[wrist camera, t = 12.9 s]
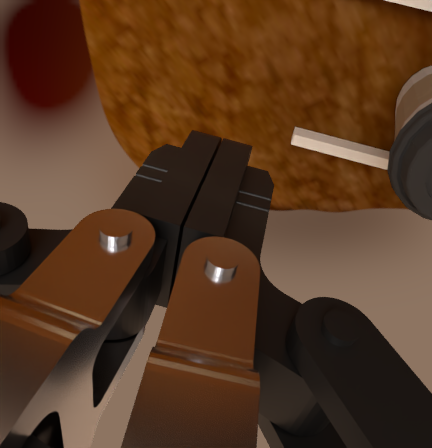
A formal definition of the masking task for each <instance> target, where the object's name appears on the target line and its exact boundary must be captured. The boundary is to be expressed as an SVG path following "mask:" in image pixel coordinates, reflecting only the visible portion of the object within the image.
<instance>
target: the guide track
mask: <svg viewBox="0 0 432 448" xmlns="http://www.w3.org/2000/svg"><path fill="white" fill-rule="evenodd" d="M385 1H389V2H393V3H398V4H402V5H406V6H410V7H414V8H418V9H422V10H426V11H430V12H432V0H385ZM291 144H292V145H295V146H299V147H303V148H307V149H310V150H314V151H318V152H322V153H325V154H329V155H333V156H337V157H340V158H344V159H348V160H352V161H355V162H359V163H363V164H367V165H370V166H374V167H378V168H382V169H385V170H387V169H388V161H389V153H390V152H389V151H385V150H382V149H378V148H374V147H370V146H366V145H363V144H359V143H355V142H351V141H347V140H344V139H340V138H336V137H332V136H329V135H325V134H321V133H317V132H313V131H310V130H306V129H302V128H298V127H295V129H294V132H293V135H292V140H291Z"/></svg>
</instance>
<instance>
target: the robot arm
mask: <svg viewBox="0 0 432 448" xmlns="http://www.w3.org/2000/svg"><path fill="white" fill-rule="evenodd" d="M221 141H222V143H221ZM251 150H252V146H250V145H247V144H243V143H239V142H236V141H232V140H228V139H223V140H222V138H220V137H216V136H213V135H209V134H205V133H202V132H198V131H194V130H192V131H191V133H190V135H189V136H188V138H187V140H186V141H185V143H184V145H183V146H182V148H180V147H176V146H172V145H168V144H166V145H164V146H162V147H160V148H158V149H156V150H154V151H152V152H151V153H150V154H149V156H148V157H147V159H146V160H145V162H144V163H143V166H141V167H140V169H139V170H138V171H137V173H136V176H134V177H133V178H132V180H131V181H130V183H129V184H128V185H127V187H126V188H125V190H124V191H123V193H122V194H121V196H120V197H119V198H118V200H117V201H116V202H115V204H114V205H113V207H112V208H111V209H105V210H100V211H97V212H94V213H92V214H89V215H88V216H86V217H85V218H83V220H81V221H80V222H79V224H77V226H76V227H75V228H74V229H72V230H47V229H28V223H27V218H26V216H25V215H24V213H23V212H22V211H21V210H19V209H18V208H16V207H14V206H12V205H10V204H6V203H2V202H0V448H90V446H91V444H92V441H93V437H94V434H95V430H96V427H97V424H98V422H99V419H100V417H101V415H102V413H103V411H104V409H105V407H106V405H107V403H108V401H109V399H110V397H111V396H112V394H113V392H114V390H115V388H116V386H117V384H118V382H119V380H120V379H121V377H122V375H123V373H124V371H125V369H126V367H127V365H128V364H129V362H130V359H131V358H132V356H133V354H134V352H135V350H136V349H137V347H138V344H139V343H140V341H141V339H142V337H143V335H144V331H145V325H146V323H147V321H148V320H149V317H150V315H151V313H152V310H153V308H154V306H155V304H156V305H159V306H163V307H166V308H167V310H166V313H165V317H164V320H163V323H162V327H161V330H160V334H159V337H158V340H157V343H156V346H155V347H153V348H152V350H151V352H150V355H149V357H148V360H147V363H146V367H145V370H144V373H143V377H142V380H141V383H140V386H139V390H138V393H137V396H136V400H135V403H134V406H133V409H132V412H131V415H130V419H129V422H128V425H127V429H126V432H125V435H124V438H123V442H122V445H121V448H256V447H257V431H258V425H259V427H260V429H261V431H262V433H263V435H264V437H265V438H266V440H267V442H268V444H269V446H270V448H432V393H431V392H430V391H429V390H428V389H427V388H426V386H425V385H424V384H423V383H422V382H421V380H420V379H419V378H418V377H417V376H416V374H415V373H414V372H413V371H412V370H411V368H410V367H409V366H408V365H407V364H406V363H405V361H404V360H403V359H402V358H401V357H400V355H399V354H398V353H397V352H396V351H395V349H394V348H393V347H392V346H391V345H390V344H389V342H388V341H387V340H386V339H385V338H384V336H383V335H382V334H381V333H380V332H379V330H378V329H377V328H376V327H375V326H374V325H373V323H372V322H371V321H370V320H369V319H368V318H367V317H366V316H365V315H364V314H363V313H362V312H361V311H360V310H358V309H357V308H355V307H354V306H352V305H350V304H348V303H346V302H344V301H341V300H339V299H335V298H329V297H318V298H313V299H311V300H308V301H306V302H305V303H303V304H301V303H300V302H298V301H296V300H294V299H293V298H291V297H289V296H288V295H286V294H284V293H283V292H281V291H280V290H278V289H277V288H276V287H275V286H274V285H273V284H272V283H271V282H270V281H269V280H268V279H267V277H266V276H265V274H264V272H263V270H262V267H261V264H260V254H261V248H262V244H263V239H264V234H265V229H266V224H267V218H268V212H269V208H270V203H271V198H272V193H273V188H274V184H273V182H272V179H271V177H270V175H269V173H268V171H265V170H261V169H257V168H254V167H250V166H247V165H248V161H249V158H250V154H251Z"/></svg>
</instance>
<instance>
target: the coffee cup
mask: <svg viewBox="0 0 432 448" xmlns="http://www.w3.org/2000/svg"><path fill="white" fill-rule="evenodd" d="M387 171H388V174H389V178H390V182H391V185H392V188H393V190H394V191H395V193H396V194H397V196H398V197H399V198H400V200H401V201H402V202H403V203H404V205H405V206H406V207H407V208H408V209H410V210H412V211H413V212H415V213H416V214H418V215H420V216H421V217H423V218H426V219H429V220H432V66H429V67H426V68H423V69H422V70H420V71H419V72H417V73H416V74H414V75H413V76H411V78H410V79H409V80H408V81H407V82H406V83H405V84H404V86H403V87H402V89H401V91H400V94H399V96H398V98H397V102H396V110H395V141H394V143H393V145H392V147H391V149H390V153H389V161H388V169H387Z"/></svg>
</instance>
